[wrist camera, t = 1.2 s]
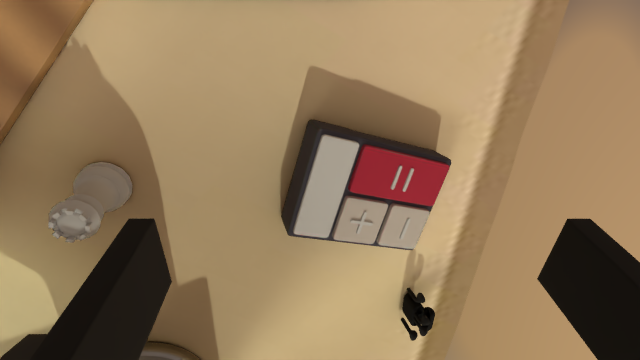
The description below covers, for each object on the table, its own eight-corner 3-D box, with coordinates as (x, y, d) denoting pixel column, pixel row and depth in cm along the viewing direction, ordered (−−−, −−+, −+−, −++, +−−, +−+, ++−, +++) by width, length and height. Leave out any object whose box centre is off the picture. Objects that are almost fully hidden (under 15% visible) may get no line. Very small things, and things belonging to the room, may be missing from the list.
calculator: (417, 255, 38) (287, 240, 33) (399, 234, 42) (279, 218, 37) (458, 162, 35) (320, 129, 29) (433, 149, 39) (308, 118, 33)
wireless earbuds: (405, 278, 44) (425, 306, 39) (423, 276, 45) (444, 303, 40) (397, 321, 47) (415, 352, 42) (414, 319, 47) (433, 349, 43)
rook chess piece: (98, 213, 32) (59, 263, 25) (67, 172, 30) (15, 214, 23) (143, 193, 33) (118, 238, 25) (116, 152, 31) (80, 187, 23)
